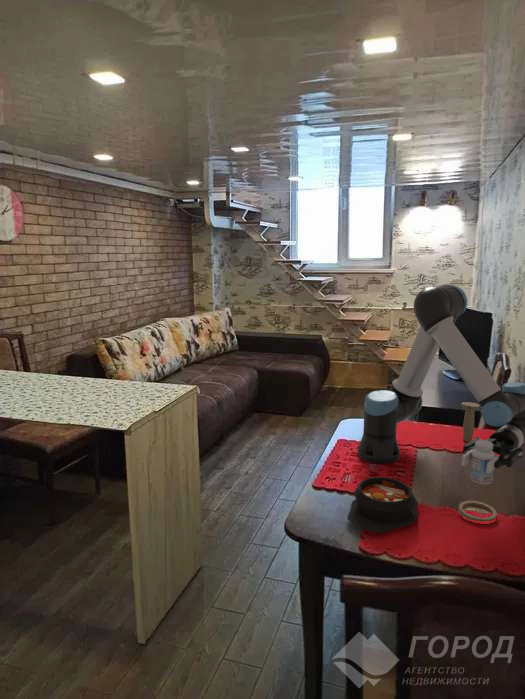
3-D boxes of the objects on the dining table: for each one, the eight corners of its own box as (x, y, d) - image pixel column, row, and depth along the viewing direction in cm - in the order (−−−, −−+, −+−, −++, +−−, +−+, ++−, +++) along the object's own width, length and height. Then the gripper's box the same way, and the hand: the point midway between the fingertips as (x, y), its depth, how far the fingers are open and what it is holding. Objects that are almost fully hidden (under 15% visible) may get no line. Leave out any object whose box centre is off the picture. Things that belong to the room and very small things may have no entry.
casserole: (376, 488, 156) (377, 464, 155) (432, 509, 144) (434, 483, 142) (331, 521, 138) (332, 494, 137) (391, 548, 126) (393, 519, 124)
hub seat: (466, 524, 136) (466, 520, 136) (452, 505, 146) (452, 500, 146) (503, 524, 136) (504, 519, 136) (486, 504, 146) (487, 500, 146)
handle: (475, 444, 189) (478, 407, 186) (457, 441, 193) (460, 404, 189) (476, 440, 193) (480, 403, 190) (459, 436, 197) (462, 401, 193)
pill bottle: (491, 476, 141) (495, 440, 138) (493, 486, 135) (497, 448, 133) (468, 473, 143) (471, 437, 140) (469, 483, 137) (473, 445, 135)
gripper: (538, 461, 144) (510, 489, 128) (473, 443, 157) (440, 466, 141) (541, 437, 143) (513, 462, 127) (475, 421, 156) (442, 442, 140)
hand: (475, 464), depth 134 cm, fingers closed on pill bottle, 6 cm apart
